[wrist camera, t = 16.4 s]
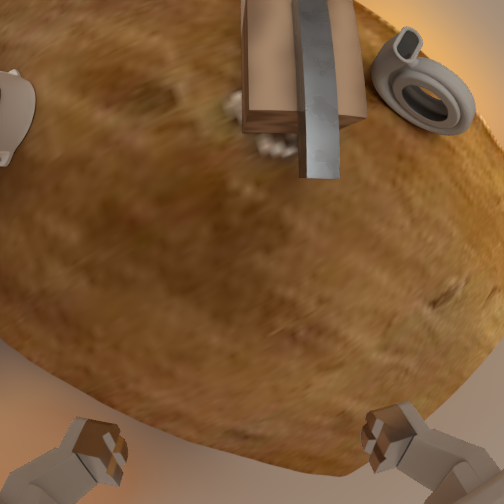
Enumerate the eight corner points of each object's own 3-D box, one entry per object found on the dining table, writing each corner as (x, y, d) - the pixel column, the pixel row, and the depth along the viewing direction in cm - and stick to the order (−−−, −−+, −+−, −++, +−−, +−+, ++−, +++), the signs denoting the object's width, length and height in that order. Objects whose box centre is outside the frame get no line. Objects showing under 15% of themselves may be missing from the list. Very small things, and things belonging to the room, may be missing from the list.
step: (242, 132, 38) (249, 109, 25) (241, 38, 35) (247, -13, 21) (325, 135, 39) (367, 117, 26) (319, 44, 36) (352, 0, 22)
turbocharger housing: (436, 119, 39) (496, 108, 25) (423, 146, 41) (485, 141, 26) (364, 55, 36) (412, 17, 22) (347, 80, 37) (395, 45, 23)
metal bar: (298, 178, 27) (306, 177, 24) (290, 3, 22) (296, -12, 19) (328, 178, 27) (339, 178, 24) (317, 6, 22) (325, -7, 19)
